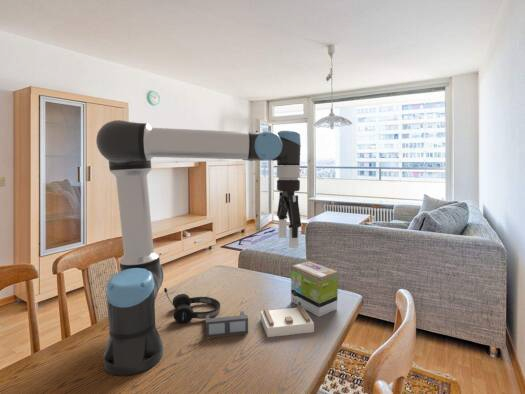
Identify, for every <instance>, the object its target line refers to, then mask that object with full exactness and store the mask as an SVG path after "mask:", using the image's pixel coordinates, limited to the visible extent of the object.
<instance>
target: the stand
mask: <svg viewBox="0 0 525 394" xmlns="http://www.w3.org/2000/svg"><path fill="white" fill-rule="evenodd" d="M260 320H261V324H262V326H263V329H264V332H265V334H266V338H273V337H274V338H275V337H281V336H291V335H299V334H309V333H314V332H315V322H314V321H313V319H312V318H311V316H310V315H309V313H308V312H307V310H306V309H304V308H303V307H301V305H297V304H296V307H290V308H279V309H272V310H271V309H268V307H263V310H261V311H260Z"/></svg>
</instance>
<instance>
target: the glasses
mask: <svg viewBox="0 0 525 394" xmlns="http://www.w3.org/2000/svg"><path fill="white" fill-rule="evenodd" d="M246 334H249V317H248V314H245V311H243V310H240V312H239V315H231V316H223V317H221V316H220V317H212V318H209V314H208V315H206V319H205V338H206V339H208V338H218V337H226V336H228V337H229V336H235V335H246Z"/></svg>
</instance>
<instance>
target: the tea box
mask: <svg viewBox="0 0 525 394" xmlns="http://www.w3.org/2000/svg"><path fill="white" fill-rule="evenodd" d="M290 269H291V273H290V275H291V277H290V279H291V281H290V282H291V283H290V288H291V289H290V299H291V300H290V301H291V303H294V304H295V305H296V306H297V305H301V307H303V308H304V309H305V311H308V312H309V313H311V314H313V315H315V317H316V316H317V318H320V317H322V316H325V315H327V314H330V313H332V312H334V311H336V310H337V309H338V294H339V290H338V288H339V287H338V286H339V272H338V271H337V270H334V269H331V268H330V267H329V268H328V267H327V266H324V265H321V264H318V263H316V262H312V261H310V260H309V261H308V260H307V261H305V262H302V263H297V264H295V265H291V268H290ZM331 311H332V312H331ZM329 312H330V313H329Z"/></svg>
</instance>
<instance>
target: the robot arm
mask: <svg viewBox="0 0 525 394" xmlns="http://www.w3.org/2000/svg"><path fill="white" fill-rule="evenodd" d="M96 146H97V149H98V151H99V153H100V155H101V156H103V157H104V158H105V159H106V160H108V167H109V168H108V169H109V172H110V173H111V174H113V176H114V177H115V179H116V180H115V181H116V189H117V190H116V191H117V198H118V210H119V218H120V227H121V237H122V238H121V239H122V247H123V255H122V256H121V258H120V259H119V262H118V263H119V271H120V272H116V273H114V274H113V275H112V276H111V277H110V278H109V279H108V281H107V283H106V290H105V293H106V294H105V297H106V301H107V302H106V305H107V319H108V320H107V322H108V334H109V336H108V339H107V343H106V346H105V350H104V353H103V358H102V359H103V368H104V370H105V371H106V373H108V374H111V375H114V376H124V377H125V376H131V375H136V374H139V373H141V372H144V371H146V370H149V369H151V368H152V367H153V366H155V365H156V364H157V363H158V362H159V361H160V360H161V359H162V357H163V355H164V344H163V340H162V338H161V336H160V333H159V331H158V329H157V326H156V311H155V310H156V309H155V308H156V305H155V302H156V299H157V296H158V294H159V290H160V288H161V287H162V285H163V281H164V270H163V267H162V265H161V261H160V254H159V253H158V252H156V251H155V250H154V241H153V240H154V239H153V229H152V227H153V226H152V219H151V207H150V206H151V205H150V198H149V197H150V194H149V186H148V174H149V173H150V172H151V171H152V159H153V158H170V159H171V158H174V159H175V158H177V159H178V158H179V159H183V158H184V159H209V160H210V159H215V160H217V159H219V160H220V159H221V160H243V161H248V162H249V161H250V162H252V161H254V162H255V161H256V162H257V161H259V162H264V161H266V162H267V161H270V162H273V161H274V162H275V161H276V179H277V180H276V190H277V191H278V193H279V196H278V198H279V199H278V205H277V212H276V216H277V217H278V238H279V239H281V238H283V239H285V238H287V230H288V229H289V233H288V237H289V238H288V243H289V245H288V247H289V249H297V248H299V228H300V227H302V222H301V213H300V207H299V206H300V205H299V196H298V194H297V195H296V194H295V192H299V191H300V188H301V181H300V179H299V178H300V177H301V172H302V168H301V147H302V145H301V134H300V132H299V131H297V130H279V131H277V133H276V132H274V131H263V132H256V131H255V132H251V131H250V132H249V131H236V130H235V131H233V130H231V131H229V130H211V129H207V130H206V129H188V128H187V129H186V128H167V127H165V128H163V127H152V126H151V124H149V123H147V122H134V121H127V120H120V119H117V120H111V121H108V122H106V123H105V124H103V125H102V126H101V127H100V129H99V130H98V132H97V135H96ZM288 219H289V225H288V229H287V223H288V221H287V220H288Z"/></svg>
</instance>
